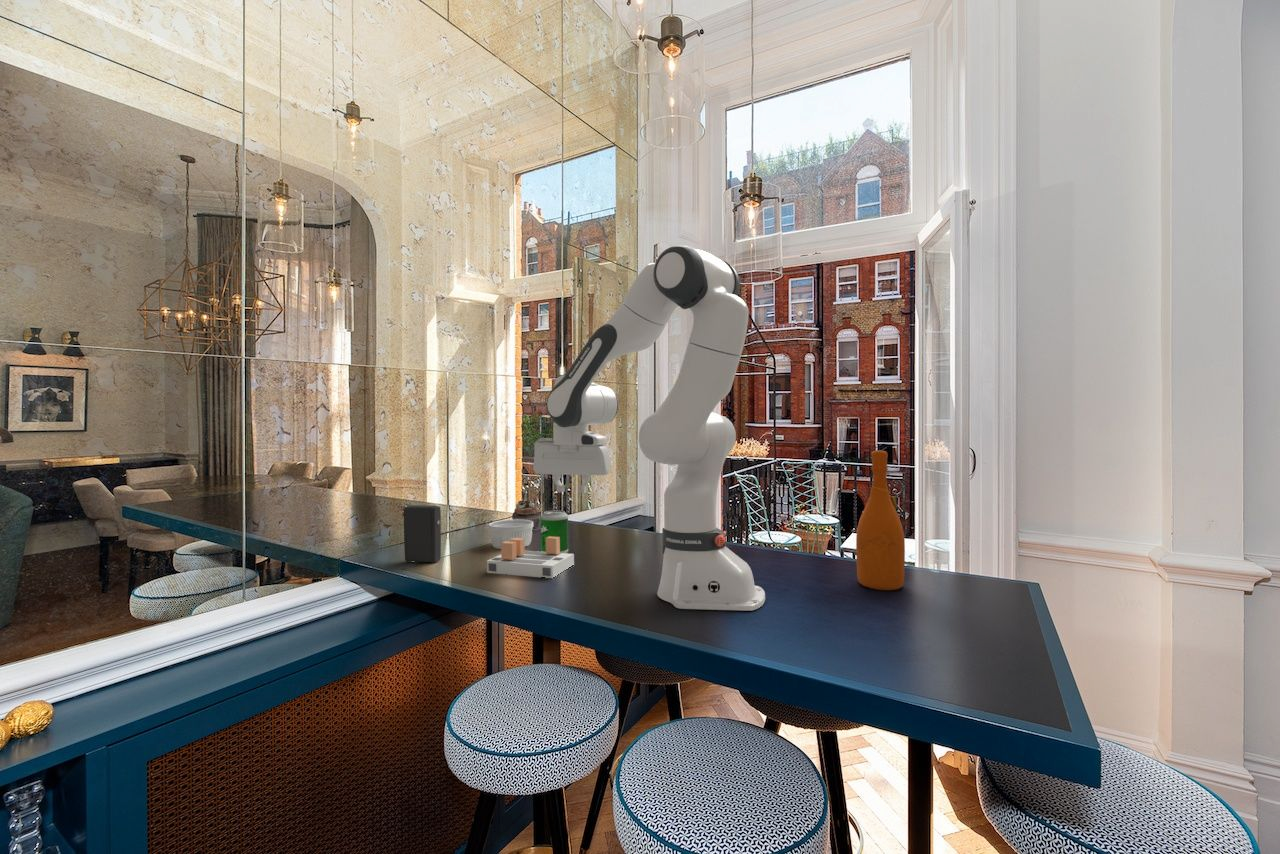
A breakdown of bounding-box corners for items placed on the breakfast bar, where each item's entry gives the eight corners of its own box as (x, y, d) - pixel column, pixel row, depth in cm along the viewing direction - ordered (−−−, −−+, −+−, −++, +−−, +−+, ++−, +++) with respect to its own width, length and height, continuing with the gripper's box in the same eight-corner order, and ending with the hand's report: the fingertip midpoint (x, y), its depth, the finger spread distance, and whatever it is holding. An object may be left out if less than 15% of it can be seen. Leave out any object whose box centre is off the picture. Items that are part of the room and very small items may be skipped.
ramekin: (490, 542, 169) (490, 519, 169) (534, 540, 171) (533, 518, 171) (486, 552, 156) (486, 528, 156) (533, 549, 158) (533, 525, 158)
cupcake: (544, 530, 186) (544, 501, 186) (517, 533, 181) (517, 503, 181) (534, 525, 195) (534, 498, 194) (508, 529, 189) (507, 500, 189)
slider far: (559, 552, 140) (559, 537, 140) (556, 554, 138) (556, 538, 138) (549, 551, 141) (549, 536, 141) (545, 553, 139) (545, 537, 139)
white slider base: (574, 565, 140) (574, 553, 140) (552, 578, 128) (552, 565, 128) (512, 560, 145) (512, 549, 145) (486, 573, 134) (486, 560, 134)
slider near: (516, 557, 135) (516, 541, 135) (512, 559, 133) (511, 543, 133) (505, 557, 136) (505, 541, 136) (501, 559, 134) (501, 542, 134)
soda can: (571, 551, 155) (570, 509, 155) (564, 558, 147) (564, 514, 147) (545, 551, 156) (544, 509, 155) (537, 558, 148) (537, 514, 148)
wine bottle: (908, 593, 114) (907, 451, 114) (857, 589, 117) (856, 451, 117) (901, 580, 123) (900, 449, 123) (855, 577, 127) (854, 449, 126)
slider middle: (524, 554, 139) (524, 538, 138) (520, 555, 137) (520, 540, 137) (514, 553, 139) (514, 537, 139) (510, 555, 138) (509, 539, 137)
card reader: (443, 560, 147) (442, 504, 147) (435, 564, 143) (434, 507, 143) (411, 559, 148) (411, 504, 148) (403, 563, 144) (402, 506, 144)
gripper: (528, 438, 138) (529, 492, 138) (603, 438, 131) (604, 495, 131) (540, 437, 144) (540, 489, 144) (612, 437, 137) (613, 492, 138)
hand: (571, 492), depth 138 cm, fingers open, 5 cm apart
